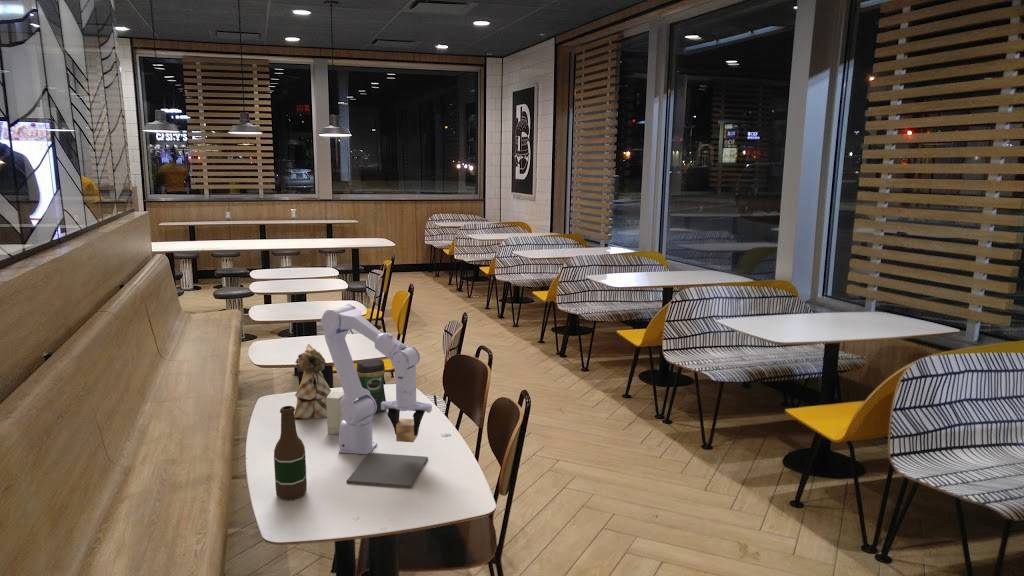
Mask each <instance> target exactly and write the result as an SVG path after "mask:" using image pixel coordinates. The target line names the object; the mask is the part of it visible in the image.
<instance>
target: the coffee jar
mask: <svg viewBox="0 0 1024 576" xmlns="http://www.w3.org/2000/svg"><path fill="white" fill-rule="evenodd" d="M356 371H357V374H358V377H359V380H360V383H361V386H362V387H363V388H365V389H367V390H369V391H370V394H371V396H372V397H373V399H374V400H375V402H376V404H377V410H376V412H375V413H374V414H378V413H382V412H385V410H387V409H385V410H381V403H382V402H383V401H387V400H386V399H387V398H386V393H385V386H384V375H385V372H386V366H385V362H384V360H383V359H382V358H381V357H378V358H377V357H376V358H370V359H362V360H358V361H357V363H356Z"/></svg>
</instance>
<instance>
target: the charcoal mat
mask: <svg viewBox="0 0 1024 576" xmlns="http://www.w3.org/2000/svg"><path fill="white" fill-rule="evenodd" d="M365 455H366V456H365V457H364V458H363V459H362V460H361V462H360V463H359V464H358V465H357V467H356V468H355V469H354V470H353V472H351V474H350V476H349V477H348V478H347V479H346V484H351V483H352V484H353V485H365V486H380V487H391V488H394V487H395V488H404V489H405V488H406V489H412V487H413V485H414V484H415V482H416V480H417V479H418V477H419V475H420V474H421V472H422V471H423V468H424V467H423V466H425V464H426V463H427V461H428V460H427V459H429V458H428V456H420V455H408V454H395V453H394V454H393V453H392V454H391V453H380V452H370V453H368V454H365Z"/></svg>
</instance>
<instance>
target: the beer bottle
mask: <svg viewBox="0 0 1024 576" xmlns="http://www.w3.org/2000/svg"><path fill="white" fill-rule="evenodd" d="M295 409H296V407H295V406H292V405H285V406H282V407H281V408H280V410H279V413H280V436H279V439H278V441H277V442H276V444H275V447H274V450H273V463H274V465H273V466H274V481H275V482H274V483H275V494H276V496H277V497H278V498H279V499H280V500H281V501H296V500H297V499H300V498H302V497H304V496H305V494H306V492H307V484H308V483H307V480H308V479H307V463H306V447H305V445H304V443H303V442H304V441H303V440H302V439H301V438H300V437H299V435H298V433H297V425H296V418H295V416H294V414H295Z"/></svg>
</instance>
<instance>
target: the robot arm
mask: <svg viewBox="0 0 1024 576" xmlns="http://www.w3.org/2000/svg"><path fill="white" fill-rule="evenodd" d="M320 323H321V326H322V329H323V332H324V339H325V343H326V345H327V348H328V351H329V354H330V356H331V360H332V362H333V365H334V367H335V371H336V374H337V376H338V379H339V382H340V385H341V388H342V391H343V393H344V395H343V397H342V399H341V402H340V404H341V407H342V417H343V419H344V420H342V422H341V424H340V427H339V434H338V440H339V443H338V444H339V445H338V446H339V449H338V452H339V453H344V454H357V455H358V454H360V455H367V454H368V453H372V451H373V450H374V448H375V447H376V446H377V445H378V442H376V441H373V418H374V415H375V414H376V413H375V412H376V410H377V404H376V402H375V400H374V399H373V397H372V396H371V394H370V391H369V390H367V389H365V388H363V387H362V386H361V383H360V380H359V377H358V374H357V371H356V370H357V368H356V366H355V364H354V360H353V358H352V355H351V352H350V349H349V347H348V343H347V340H346V337H347V335H348V333H349V331H350V330H355V332H356V331H357V332H358V333H359V334H361V335H362V336H364V337H366V338H367V339H368V340H370V341H371V342H373V343H374V348H375V349H376V350H377V351H378V352H379V353H381V354H382V355H383V356H385V358H387V359H389V361H390V362H391V366H392V368H393V369H394V374H395V398H396V399H395V400H388V401H387V400H386V401H383V402H382V403H381V410H385V409H386V410H387V412H386V415H387V418H388V419H389V420H390V422H391V424H392V427H393V431H394V434H395V435H396V424H397V423H398V422H399V420H400V412H406V411H409V412H414V413H413V415H412V417H413V418H412V419H414V436H417V434H419V430H420V426H421V422H422V420H423V416H424V414H425V412H426V413H429V414H430V413H432V410H433V408H432V407H433V405H432V403H424V402H420V401H417V365H418V364H419V363H420V359H421V355H420V352H419V351H418V349H417V348H416V347H415V346H413V345H406V344H404V343H403V342H401V341H400V340H398V339H397V338H396V337H394V334H393V333H391V332H381V330H379V329H378V328H377V327H376V326H375V325H373V324H372V323H371V322H370V321H369V320H368V319H367V318H365V317H364V316H363V315H362V312H361V310H360V309H359V308H357V307H356V306H355V305H354V304H350V303H348V304H346V305H343V306H339V307H335V308H329V309H326V310H325V311H324V312H323V314H322V317H321V319H320ZM417 437H418V436H417Z"/></svg>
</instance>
